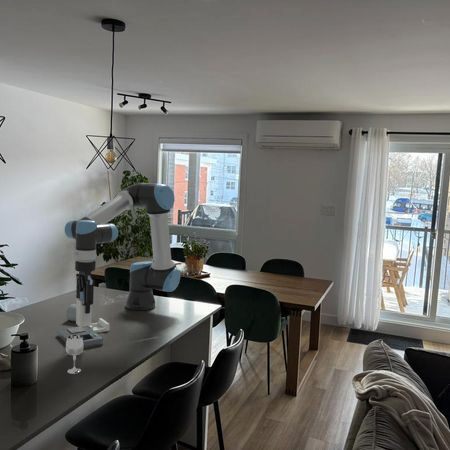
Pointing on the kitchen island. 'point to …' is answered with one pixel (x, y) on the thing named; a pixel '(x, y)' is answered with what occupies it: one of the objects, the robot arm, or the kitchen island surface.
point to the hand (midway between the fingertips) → (84, 319)
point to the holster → (100, 326)
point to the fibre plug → (80, 312)
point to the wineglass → (74, 350)
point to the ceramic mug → (71, 312)
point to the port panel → (87, 334)
